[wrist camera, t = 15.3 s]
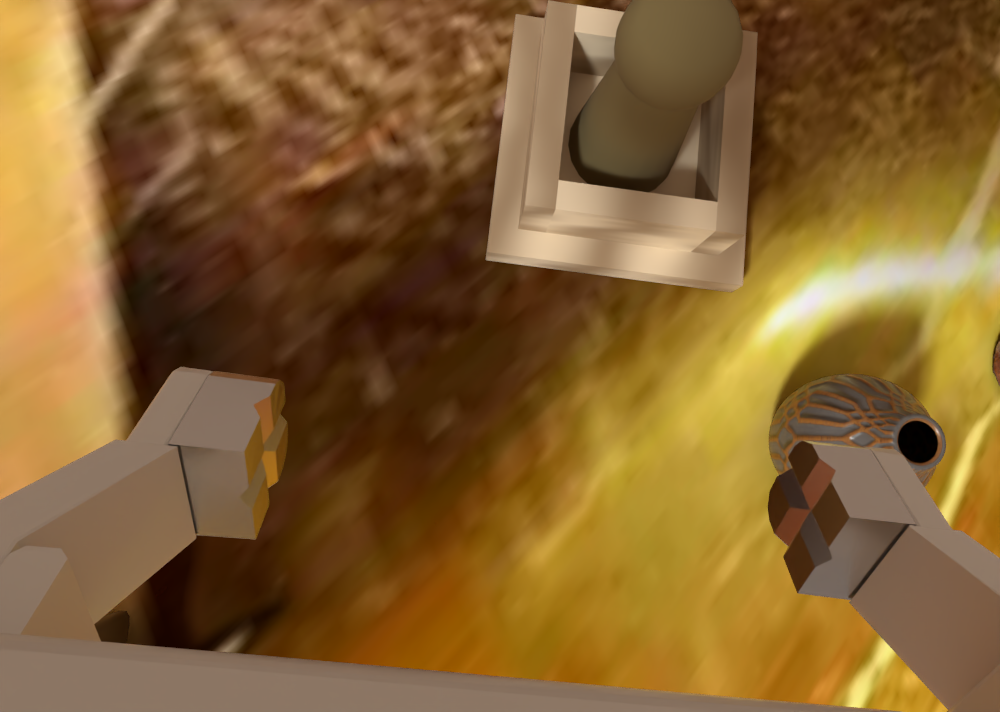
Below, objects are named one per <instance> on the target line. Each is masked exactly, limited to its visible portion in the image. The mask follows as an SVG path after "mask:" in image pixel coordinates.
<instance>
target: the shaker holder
mask: <svg viewBox="0 0 1000 712" xmlns="http://www.w3.org/2000/svg"><path fill="white" fill-rule="evenodd" d="M623 14H624V12H621V11H614V10H607V9H601V8H594V7H588V6H581V5H575V4H568V3H562V2H555V1H548V4H547V9H546V13H545V18H539V17H532V16H526V15H519V14H516V17H515V24H514V31H513V39H512V47H511V56H510V64H509V72H508V80H507V89H506V97H505V105H504V113H503V122H502V130H501V138H500V146H499V155H498V163H497V171H496V179H495V187H494V196H493V204H492V212H491V220H490V229H489V237H488V245H487V253H486V260H489V261H497V262H504V263H512V264H519V265H527V266H535V267H542V268H550V269H558V270H565V271H573V272H581V273H588V274H596V275H603V276H611V277H619V278H626V279H634V280H642V281H649V282H657V283H665V284H672V285H680V286H687V287H695V288H703V289H710V290H718V291H726V292H733V291H734V290H736V289H738V288H740V287H741V286H743V274H744V257H745V241H746V224H747V207H748V191H749V174H750V158H751V141H752V125H753V108H754V92H755V75H756V59H757V35H758V32H752V31H745V30H742V32H743V44H742V53H741V56H740V60H739V63H738V65H737V67H736V69H735V71H734V73H733V75H732V77H731V79H730V80H729V81H728V82H727V84H726V85H725V86H724V87H723V88H722V89H721V90H720V91H719V92H718V93H717V94H716V95H715V96H714V97H713V98H711V99H710V100H708V101H706V102H705V103H702V104H700V105H699V106H698V109H697V111H696V113H695V116H694V118H693V120H692V123H691V125H690V127H689V130H688V132H687V134H686V137H685V139H684V141H683V144H682V146H681V148H680V151H679V153H678V155H677V157H676V160H675V162H674V164H673V166H672V168H671V170H670V173H669V175H668V177H667V178H666V179H665V180H664V181H663V182H662V183H661V184H660V185H659V186H658V187H657V188H656V189H654V190H652V191H650V192H642V191H634V190H627V189H620V188H613V187H605V186H598V185H591V184H587V183H586V182H585V181H584V180H583V179H582V178H581V177H580V176H579V174H578V172H577V171H576V169H575V167H574V165H573V163H572V162H571V157H570V152H569V147H568V142H569V136H570V129H571V127H572V125H573V123H574V121H575V119H576V117H577V115H578V114H579V112H580V111H581V109H582V108H583V106H584V105H585V103H586V102H587V100H588V99H589V97H590V96H591V94H592V93H593V92H594V90H595V89H596V87H597V86H598V84H599V83H600V81H601V80H602V78H603V77H604V75H605V74H606V72H607V71H608V69H609V68H610V66H611V65H612V63H613V62H614V60H615V58H614V45H615V38H616V30H617V28H618V25H619V22H620V20H621V18H622V16H623Z"/></svg>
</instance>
